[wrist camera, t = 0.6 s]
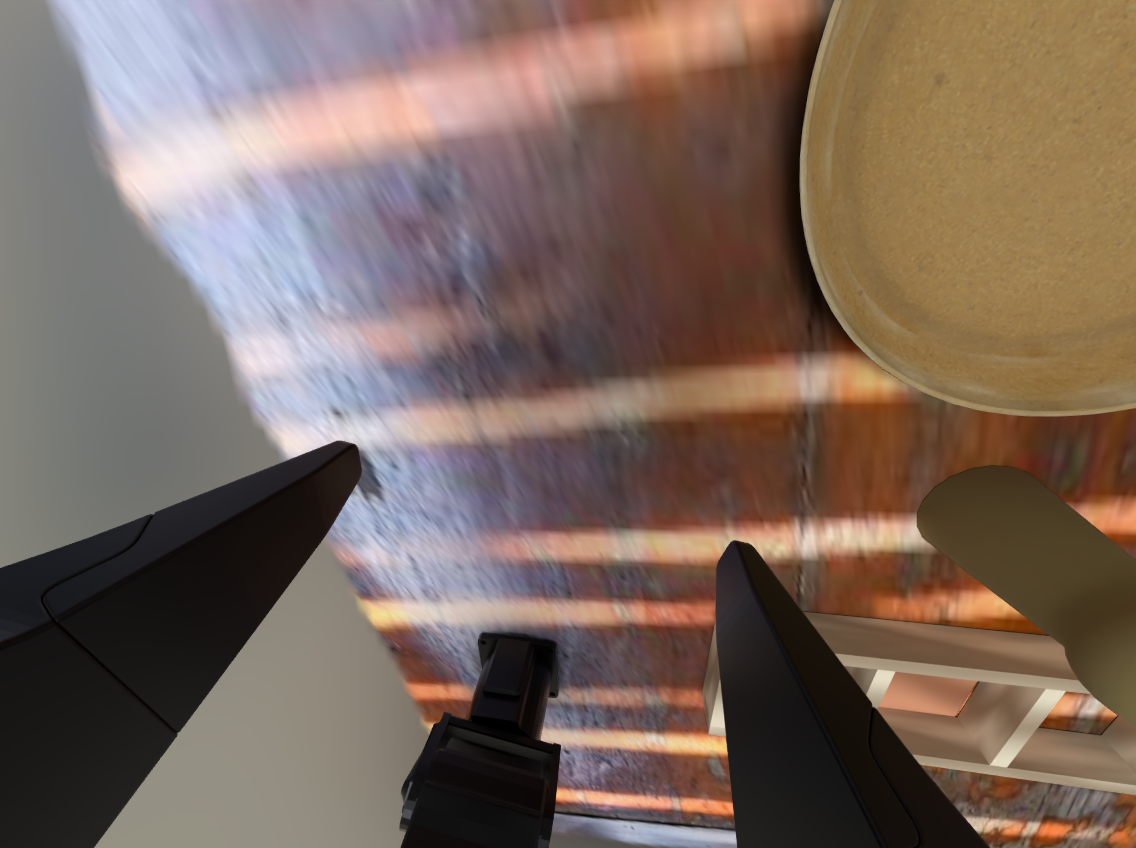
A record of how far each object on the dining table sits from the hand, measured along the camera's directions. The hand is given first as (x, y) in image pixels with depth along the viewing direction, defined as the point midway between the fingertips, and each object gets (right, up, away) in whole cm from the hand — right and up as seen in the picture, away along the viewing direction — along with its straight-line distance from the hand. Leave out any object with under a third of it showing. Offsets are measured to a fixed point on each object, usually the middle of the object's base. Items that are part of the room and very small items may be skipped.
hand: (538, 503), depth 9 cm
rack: (+25, -16, +19) cm, 35 cm away
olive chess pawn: (+24, -3, +14) cm, 28 cm away
